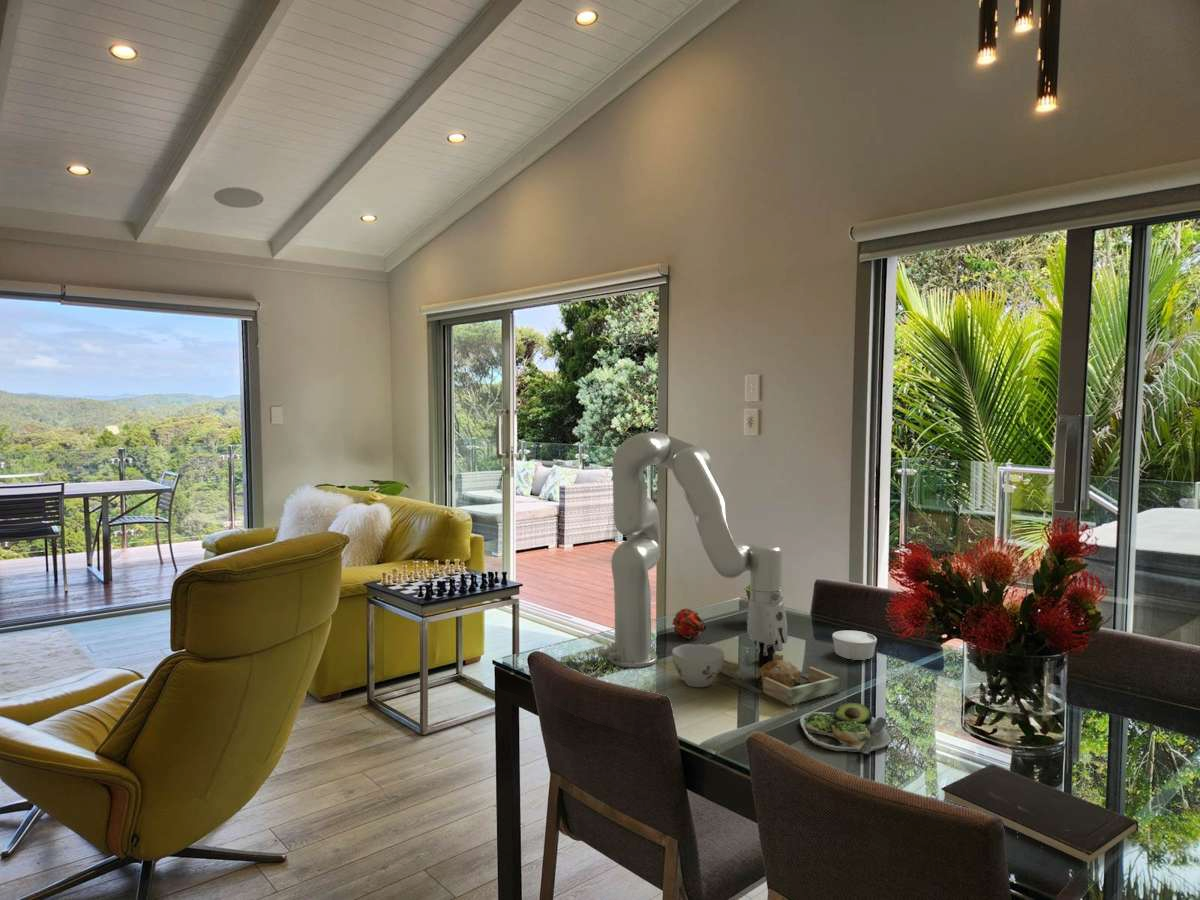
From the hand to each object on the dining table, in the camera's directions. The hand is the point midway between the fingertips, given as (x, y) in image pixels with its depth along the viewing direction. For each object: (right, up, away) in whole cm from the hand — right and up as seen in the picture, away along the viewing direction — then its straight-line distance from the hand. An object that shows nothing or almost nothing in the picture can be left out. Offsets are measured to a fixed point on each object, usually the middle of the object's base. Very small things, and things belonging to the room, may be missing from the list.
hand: (765, 669), depth 187 cm
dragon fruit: (-15, 0, +34) cm, 37 cm away
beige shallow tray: (+1, -2, -2) cm, 3 cm away
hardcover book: (+30, -6, -64) cm, 71 cm away
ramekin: (+27, -1, +15) cm, 31 cm away
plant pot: (+9, +1, +46) cm, 47 cm away
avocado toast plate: (+9, -4, -33) cm, 34 cm away
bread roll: (+2, -2, -6) cm, 7 cm away
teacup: (-18, -2, -3) cm, 18 cm away
